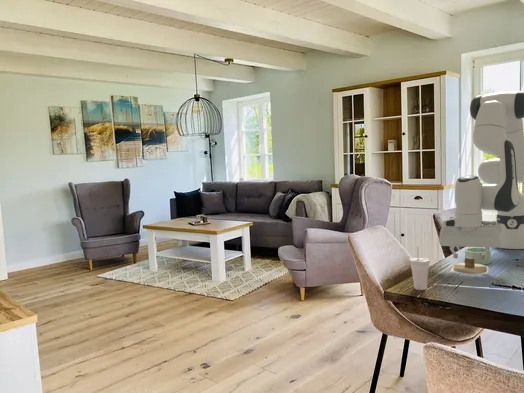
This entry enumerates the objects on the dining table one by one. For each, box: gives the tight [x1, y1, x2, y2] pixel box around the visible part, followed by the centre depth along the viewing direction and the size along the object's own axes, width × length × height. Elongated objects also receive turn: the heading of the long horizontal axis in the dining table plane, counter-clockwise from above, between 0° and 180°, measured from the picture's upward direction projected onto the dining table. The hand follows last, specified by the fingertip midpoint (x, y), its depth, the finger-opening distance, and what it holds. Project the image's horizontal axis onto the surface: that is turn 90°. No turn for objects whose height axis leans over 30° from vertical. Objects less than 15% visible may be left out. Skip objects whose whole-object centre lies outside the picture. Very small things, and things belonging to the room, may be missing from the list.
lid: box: [452, 257, 487, 274], centre depth 163 cm, size 11×11×4 cm
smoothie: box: [409, 246, 431, 291], centre depth 146 cm, size 6×6×14 cm
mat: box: [450, 263, 490, 276], centre depth 163 cm, size 12×12×1 cm
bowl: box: [464, 247, 492, 265], centre depth 173 cm, size 9×9×5 cm
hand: (469, 258), depth 162 cm, fingers open, 8 cm apart
